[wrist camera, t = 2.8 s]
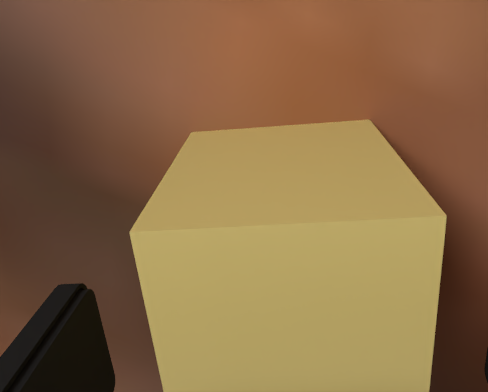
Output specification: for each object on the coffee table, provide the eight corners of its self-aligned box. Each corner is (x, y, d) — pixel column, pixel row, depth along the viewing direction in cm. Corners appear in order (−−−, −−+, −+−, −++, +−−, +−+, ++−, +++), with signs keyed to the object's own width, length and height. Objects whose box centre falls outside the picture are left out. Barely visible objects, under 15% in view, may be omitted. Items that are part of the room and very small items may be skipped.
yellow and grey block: (190, 131, 12) (114, 250, 6) (371, 118, 11) (464, 232, 6) (219, 343, 14) (186, 555, 9) (366, 339, 14) (425, 559, 8)
